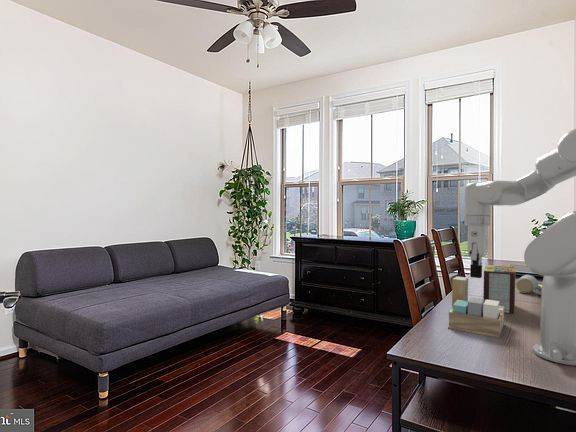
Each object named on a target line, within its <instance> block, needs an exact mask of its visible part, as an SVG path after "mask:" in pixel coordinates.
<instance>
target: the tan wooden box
mask: <svg viewBox="0 0 576 432" xmlns="http://www.w3.org/2000/svg"><path fill="white" fill-rule="evenodd" d="M457 301H462V300H457ZM468 301H469V300H468ZM468 301H464V302H468ZM504 324H505V313H504V306H499V318H498V319H492V318H486V317H483V316H482V317H480V316H474V315H467V314H461V313H455V312H453V308H452V307H451V309H450V311H449V312H448V325H447V329H448V330H455V331H460V332H465V333H470V334H475V335H481V336H486V337H487V336H488V337H491V338H496V339H497V338H498V339H500V338H501V335H502V332H503V328H504Z"/></svg>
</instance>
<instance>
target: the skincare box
mask: <svg viewBox="0 0 576 432" xmlns="http://www.w3.org/2000/svg"><path fill="white" fill-rule="evenodd" d="M451 290H452V291H451V292H452V293H451V294H452V297H451V299H452V300H451V309H452V308H453V304H454V303H455V302H456V301H457V300H462V301H469V298H468V297H469V277H466V276H465V277H464V276H454V277H453V278H452V289H451Z"/></svg>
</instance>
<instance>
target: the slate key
mask: <svg viewBox="0 0 576 432" xmlns="http://www.w3.org/2000/svg"><path fill="white" fill-rule="evenodd" d="M483 304H484V299H483V298H477V297H472V296H471V297H470V298H469V299H468V315H474V316H480V317H482V316H483Z"/></svg>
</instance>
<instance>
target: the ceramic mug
mask: <svg viewBox="0 0 576 432" xmlns="http://www.w3.org/2000/svg"><path fill="white" fill-rule="evenodd" d="M515 288H516V289H517V290H518V291H519V292H520V293H523V294H530V293H534V294H536V295H539V296H541V293H542V287H539V281H538V280H537V278H536V277H535V276H533V275H530V274H524V275H522V276H521V277H520V278H518V279H517V280H516V281H515Z"/></svg>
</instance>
